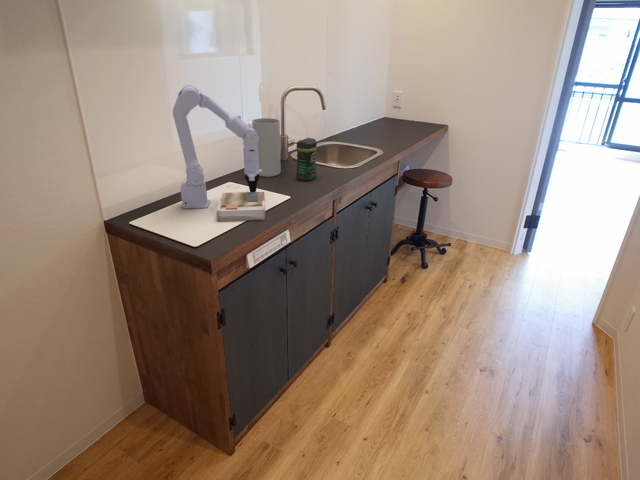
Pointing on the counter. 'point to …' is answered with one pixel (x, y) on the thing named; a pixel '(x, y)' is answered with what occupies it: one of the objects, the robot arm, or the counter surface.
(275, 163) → the cylinder vase
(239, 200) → the oak board
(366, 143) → the counter surface
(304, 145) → the coffee jar
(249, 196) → the slate tile
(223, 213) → the box
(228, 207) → the terracotta block
